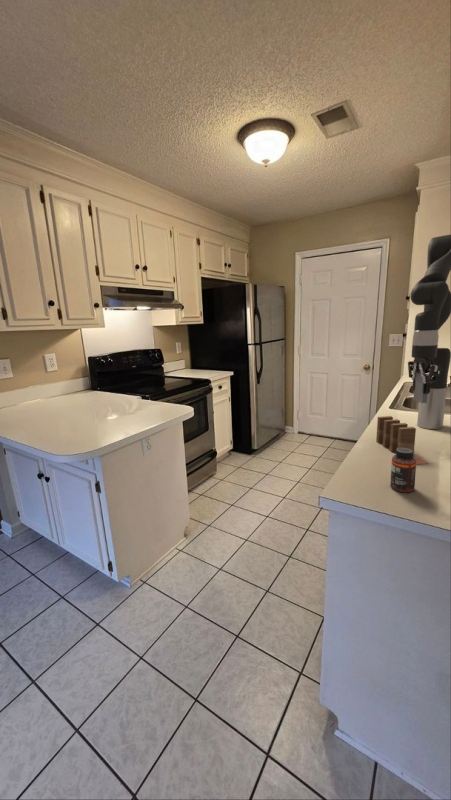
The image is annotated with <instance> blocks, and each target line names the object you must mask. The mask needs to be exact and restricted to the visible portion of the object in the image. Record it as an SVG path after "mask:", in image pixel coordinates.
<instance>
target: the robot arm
mask: <svg viewBox="0 0 451 800" xmlns="http://www.w3.org/2000/svg"><path fill="white" fill-rule="evenodd" d="M426 256H427V257H426V258H427V261H426V265H427V267H426V271H425V273H424V276H423V277H422V278H421V279H420V280H418V282H416V283H415V284H414V286H413V288H411V292H410V301H411V302H412V303H413V305H416V306H423V312H419V313H417V314H416V315H415V318H414V327H413V328H414V330H413V335H412V345H411V357H412V358H413V360H412V361H409V360H408V362H407V368H408V377H409V378H411V380H412V386H411V387H412V388H411V389H412V391H413V392H414V388H415V377H416V374H417V373H421V377H423V390H422V393H423V394H427V403H420V402H418V410H417V411H418V412H417V423H416V424H417V425H416V426H417V427H419V428H423V429H427V430H440V429H443V426H444V420H445V410H446V397H447V387H448V377H449V371H450V363H451V349H450V348H447V347H439V337H440V336H439V331H440V329H441V328H442V326H443V325H444V324H445V323H446V321H448V319H449V317H450V315H451V291H450V288H449V284H448V283H447V280H448V277H449V274H450V272H451V234H446V235H441V236H435V237H432V238H431V239H430V240H429V243H428V245H427V255H426ZM426 376H428V378H426Z"/></svg>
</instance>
